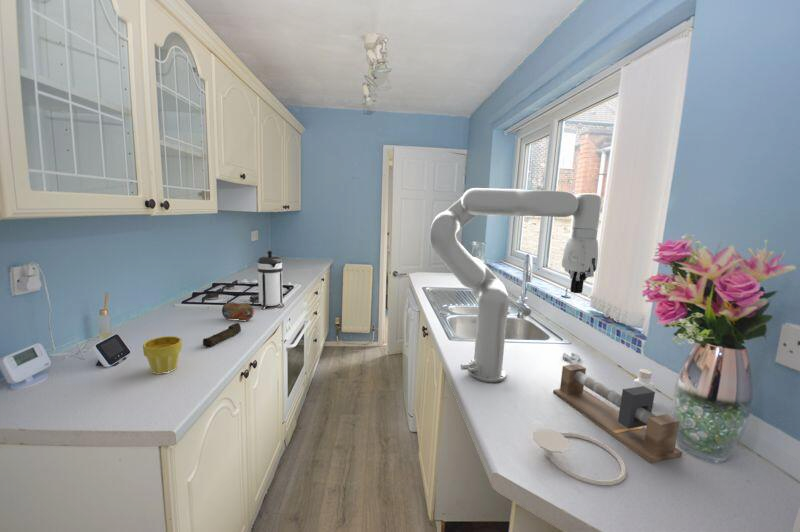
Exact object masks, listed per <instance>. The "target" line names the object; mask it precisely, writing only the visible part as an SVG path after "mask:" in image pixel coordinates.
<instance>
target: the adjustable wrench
mask: <svg viewBox="0 0 800 532" xmlns="http://www.w3.org/2000/svg"><path fill="white" fill-rule="evenodd" d="M562 360H563V361H566V362H568V363H569V365H575V364H579V362H580V361H581V355H579V354H578V353H575V352H571V355H570V356H569V354H567V353H566V352H564V353H563V354H562Z"/></svg>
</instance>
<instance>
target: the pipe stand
mask: <svg viewBox="0 0 800 532" xmlns="http://www.w3.org/2000/svg"><path fill="white" fill-rule="evenodd" d="M586 370H587V368H586V367H584V366H582V365H581V364H580V363H578V364H575V365H571V364H567V365H562V370H561V378H560V386H559V388H556V389H553V392H552V393H553V394H554V395H555V396H557V397H558V398H560V399H561V400H562V401H564V402H565V403H566V404H568V405H569V406H570V407H572V408H573V409H575V410H576V411H577V412H579V413H580V414H582V415H583V416H585V417H586V418H587V419H589V421H592V422H593V423H594V424H595V425H597V426H598V427H600V428H601V429H602V430H604V431H605V432H606V433H608V434H609V435H610V436H612V437H613V438H615V439H616V440H618V441H619V442H620V443H621V444H623V445H625V446H626V447H627V448H628V449H630V450H631V451H633V452H634V453H635V454H637V455H638V456H640V457H641V458H642V459H643V460H645V461H646V462H648V463H649V464H652V463H656V462H661V461H665V460H669V459H674V458H677V457H678V458H679V457H681V456H682V455H683V451H681V450H680V449H679V448H677V447H676V443H677V439H678V433H679V428H680V427H679V426H680V420H679V419H678V418H675V417H673V415H672V416H671V415H670V414H667V413H666V414H665V413H664V414H659V415H656V414H654V413H653V412H652V413H650V412H649V411H647V410H645V409H644V408H642V407H637V408H636V412H635V418H637V419H639V420H640V421H642V422H643V423H645V424H647V425H646V427H645V426H641V427H635V428H630V429H628V428H626V427H625V426H623V425H622V424H620V423H619V422H618V418H619V411H620V410H617V409H616V408H614V407H612V406H611V405H609V404H608V403H606V402H605V401H603V400H601V399H600V398H598V397H597V396H595V395H594V394H592V393H591V392H589V391H588V390H586V389H584V387H586V388H587V389H589V390H591V391H592V392H593V393H596V394H597V395H598V396H600V397H602V398H604V399H605V400H607V402H609V403H612V404H613V405H615V406H616V407H618V408H619V409H620V405H621V398H622V394H620V393H618V392H616V391H615V390H612V389H611V388H610V387H608V386H606V385H605V384H602V383H601V382H599V381H597V380H596V379H594V378H593V377H591V376H589V375H587V374H586Z"/></svg>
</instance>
